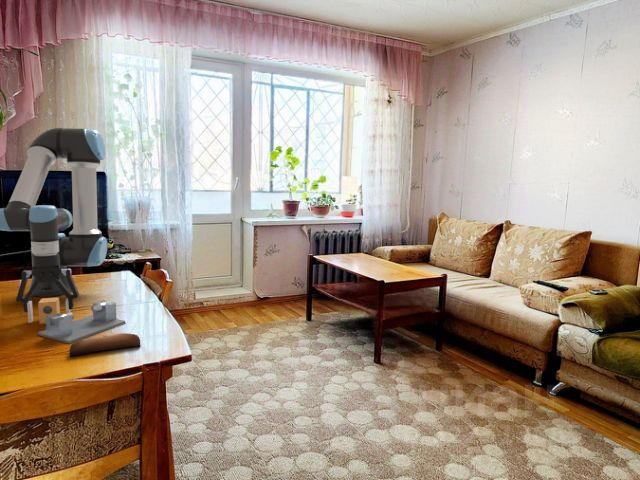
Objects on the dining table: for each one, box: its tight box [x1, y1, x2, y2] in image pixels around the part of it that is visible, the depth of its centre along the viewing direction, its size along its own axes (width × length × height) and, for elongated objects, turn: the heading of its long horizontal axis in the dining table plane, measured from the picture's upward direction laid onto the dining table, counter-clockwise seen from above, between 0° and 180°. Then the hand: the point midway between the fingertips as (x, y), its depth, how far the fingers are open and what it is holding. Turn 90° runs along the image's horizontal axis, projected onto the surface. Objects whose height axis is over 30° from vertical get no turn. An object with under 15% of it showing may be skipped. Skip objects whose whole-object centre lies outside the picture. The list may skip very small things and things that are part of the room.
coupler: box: [37, 297, 61, 325], centre depth 149 cm, size 5×5×7 cm
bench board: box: [37, 314, 126, 344], centre depth 142 cm, size 14×20×1 cm
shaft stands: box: [45, 299, 118, 338], centre depth 142 cm, size 6×20×6 cm, turn 155°
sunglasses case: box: [69, 332, 141, 357], centre depth 129 cm, size 18×7×7 cm
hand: (49, 320), depth 149 cm, fingers open, 10 cm apart
